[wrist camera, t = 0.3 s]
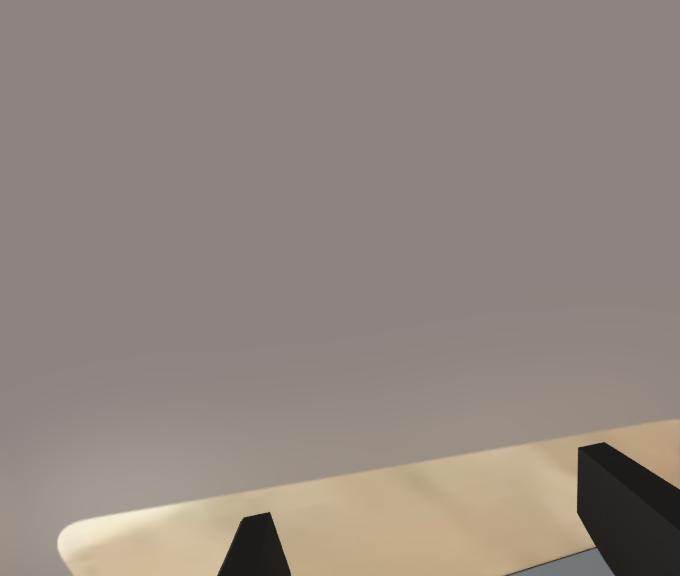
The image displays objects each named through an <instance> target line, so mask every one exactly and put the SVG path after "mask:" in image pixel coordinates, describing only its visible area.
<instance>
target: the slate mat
mask: <svg viewBox="0 0 680 576" xmlns="http://www.w3.org/2000/svg"><path fill="white" fill-rule="evenodd" d="M508 576H615V575H614V574H613V572H612V571H611V569H610V568H609V566H608V565H607V564H606V562H605V561H604V559H603V557H602V556H601V554H600V552H599V551H598V549H597V548H594V549H590V550H587V551H584V552H581V553H578V554H574V555H571V556H568V557H565V558H562V559H559V560H555V561H552V562H549V563H546V564H543V565H540V566H536V567H533V568H530V569H527V570H524V571H520V572H517V573H514V574H511V575H508Z"/></svg>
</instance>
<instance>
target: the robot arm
mask: <svg viewBox="0 0 680 576" xmlns="http://www.w3.org/2000/svg"><path fill="white" fill-rule="evenodd" d="M577 513H578V515H579V517H580V519H581V521H582V522H583V524H584V526H585V528H586V530H587V531H588V533H589V535H590V537H591V539H592V540H593V542H594V544H595V545H596V547H597V549H598V551H599V552H600V554H601V556H602V557H603V559H604V561H605V562H606V564H607V565H608V566H609V568H610V569H611V571H612V572H613V574H614V575H615V576H680V489H678V488H676V487H675V486H673V485H672V484H670V483H668V482H667V481H665V480H664V479H662V478H661V477H659V476H657V475H656V474H654V473H653V472H651V471H649V470H648V469H646V468H645V467H643V466H641V465H640V464H638V463H637V462H635V461H634V460H632V459H630V458H629V457H627V456H626V455H624V454H623V453H621V452H619V451H618V450H616V449H615V448H613V447H611V446H610V445H608V444H606V443H605V442H603V443H598V444H593V445H588V446H584V447H579V448H578V488H577ZM217 576H291V572H290V569H289V566H288V563H287V560H286V557H285V555H284V552H283V549H282V546H281V543H280V540H279V537H278V534H277V531H276V528H275V525H274V522H273V519H272V517H271V514H270V512H268V513H263V514H258V515H254V516H249V517H244V518H243V519H242V521H241V522H240V524H239V527H238V529H237V532H236V534H235V536H234V539H233V541H232V543H231V546H230V548H229V550H228V553H227V555H226V557H225V560H224V562H223V564H222V566H221V568H220V571H219V573H218V575H217Z"/></svg>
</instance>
